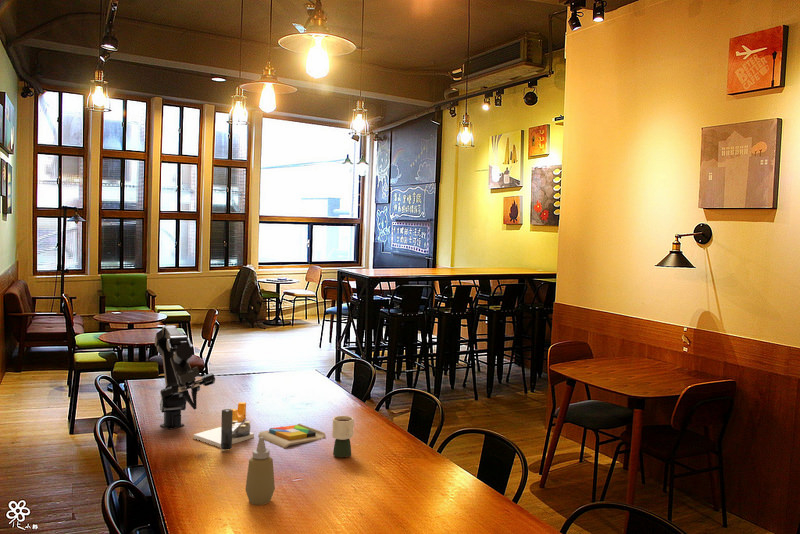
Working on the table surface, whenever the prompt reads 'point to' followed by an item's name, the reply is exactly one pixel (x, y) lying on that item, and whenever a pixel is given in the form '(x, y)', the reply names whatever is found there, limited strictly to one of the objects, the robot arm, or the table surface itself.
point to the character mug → (342, 435)
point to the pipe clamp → (239, 412)
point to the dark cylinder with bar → (232, 429)
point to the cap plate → (218, 437)
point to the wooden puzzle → (291, 435)
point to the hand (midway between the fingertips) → (195, 409)
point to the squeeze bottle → (260, 476)
